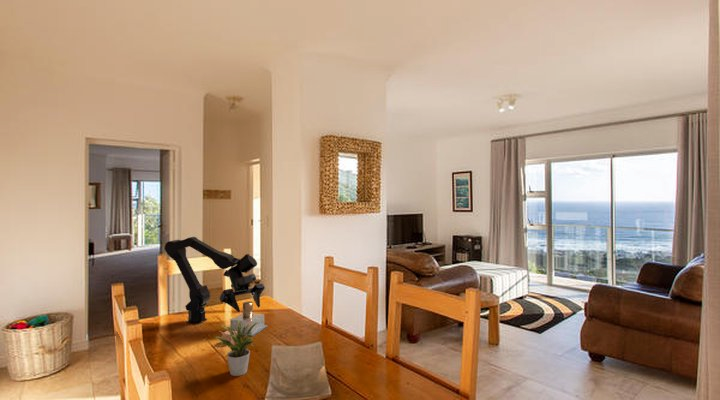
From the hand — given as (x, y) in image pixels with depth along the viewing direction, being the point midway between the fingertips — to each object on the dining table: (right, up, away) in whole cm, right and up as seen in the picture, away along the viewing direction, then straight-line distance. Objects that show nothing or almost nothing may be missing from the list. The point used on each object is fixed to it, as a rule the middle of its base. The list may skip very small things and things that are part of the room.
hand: (249, 309), depth 160 cm
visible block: (-4, -9, -13) cm, 16 cm away
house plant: (+8, -10, -36) cm, 38 cm away
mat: (-1, -9, +1) cm, 9 cm away
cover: (-1, -9, +1) cm, 9 cm away
